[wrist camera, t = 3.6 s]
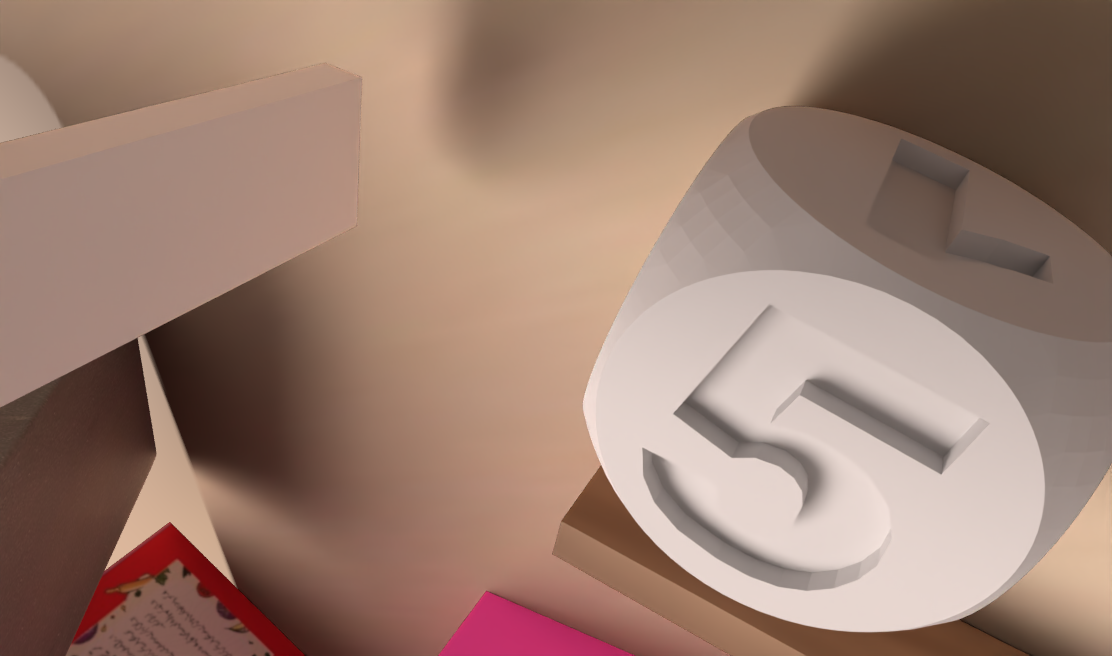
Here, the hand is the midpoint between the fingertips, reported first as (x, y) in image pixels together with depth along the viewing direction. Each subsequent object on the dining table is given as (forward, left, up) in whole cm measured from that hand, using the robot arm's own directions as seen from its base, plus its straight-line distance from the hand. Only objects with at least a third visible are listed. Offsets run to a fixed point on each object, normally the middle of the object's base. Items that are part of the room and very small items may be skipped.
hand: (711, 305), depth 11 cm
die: (0, +2, -2) cm, 3 cm away
